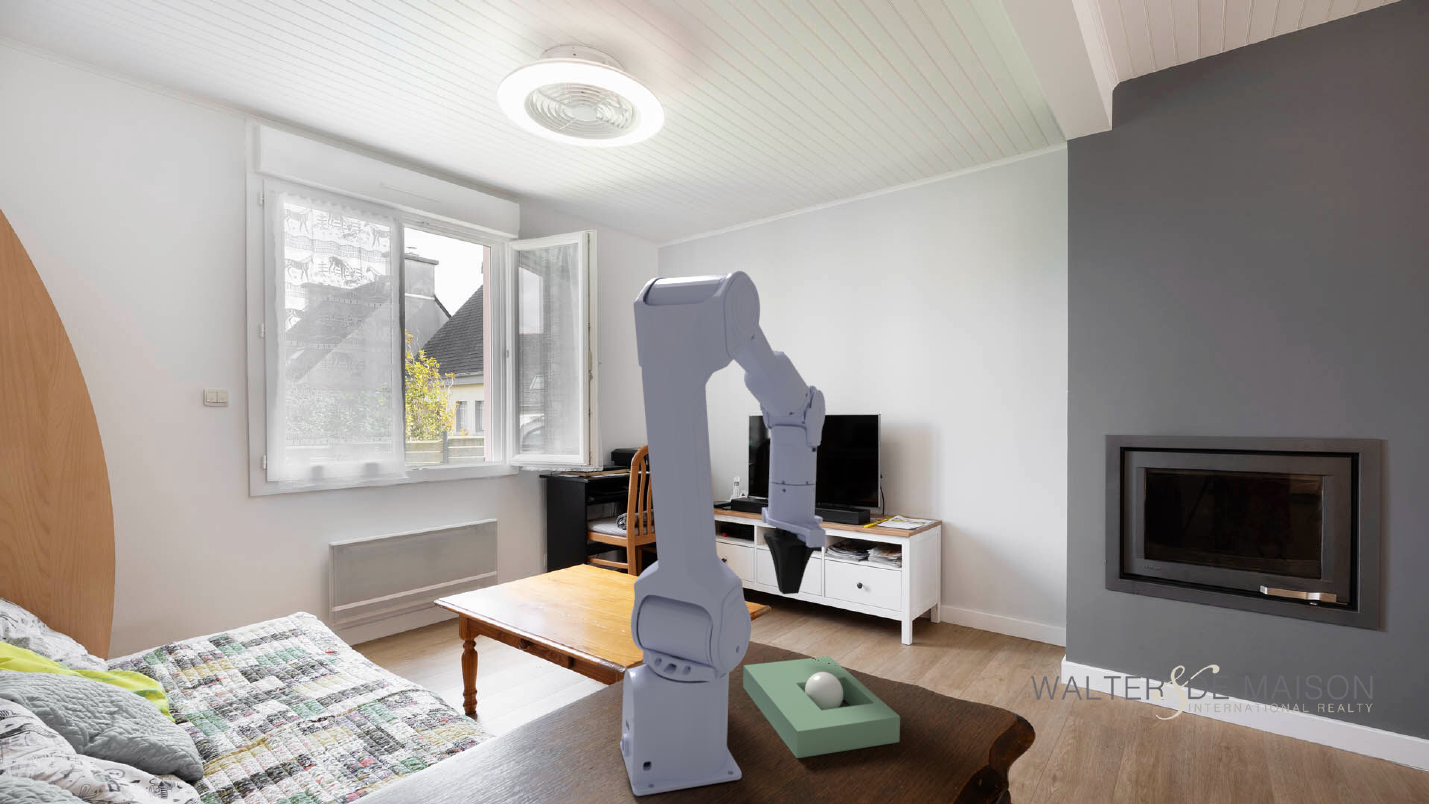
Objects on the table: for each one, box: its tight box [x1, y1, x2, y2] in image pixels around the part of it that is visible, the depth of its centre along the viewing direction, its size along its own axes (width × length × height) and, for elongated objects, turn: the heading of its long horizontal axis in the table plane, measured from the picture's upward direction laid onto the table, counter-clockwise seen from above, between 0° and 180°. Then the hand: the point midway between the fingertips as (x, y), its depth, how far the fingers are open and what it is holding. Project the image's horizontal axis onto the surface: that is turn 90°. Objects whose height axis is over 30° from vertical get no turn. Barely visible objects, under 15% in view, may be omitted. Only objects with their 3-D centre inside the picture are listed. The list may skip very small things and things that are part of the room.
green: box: [742, 655, 901, 759], centre depth 66 cm, size 11×14×2 cm
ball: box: [805, 672, 843, 710], centre depth 66 cm, size 4×4×4 cm
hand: (788, 592), depth 77 cm, fingers closed
